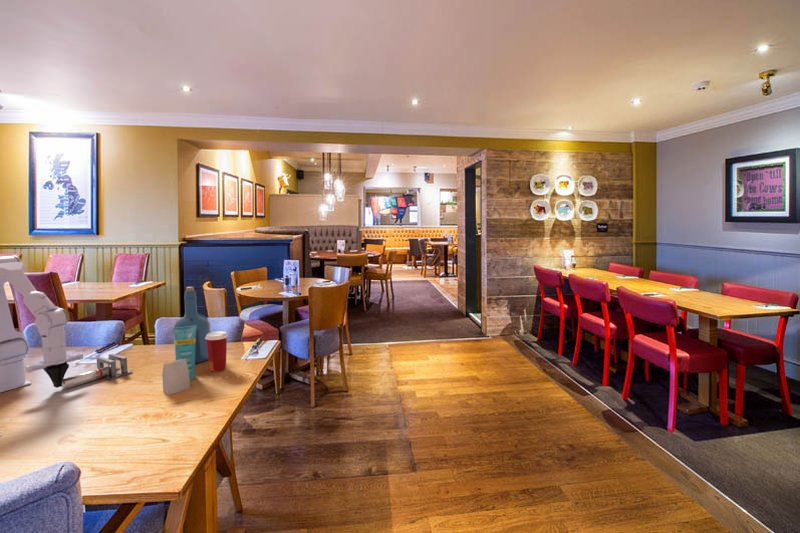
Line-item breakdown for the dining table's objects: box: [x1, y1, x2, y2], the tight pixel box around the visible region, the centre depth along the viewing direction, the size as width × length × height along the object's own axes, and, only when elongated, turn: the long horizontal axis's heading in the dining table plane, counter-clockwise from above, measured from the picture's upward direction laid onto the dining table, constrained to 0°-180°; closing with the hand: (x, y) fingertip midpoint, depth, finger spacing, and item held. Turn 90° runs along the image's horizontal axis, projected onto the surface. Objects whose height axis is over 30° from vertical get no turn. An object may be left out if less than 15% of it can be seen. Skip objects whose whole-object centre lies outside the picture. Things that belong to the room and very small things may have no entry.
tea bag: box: [161, 359, 191, 396], centre depth 129 cm, size 4×7×10 cm, turn 142°
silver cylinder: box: [61, 365, 109, 390], centre depth 136 cm, size 14×4×4 cm, turn 153°
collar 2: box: [108, 353, 133, 377], centre depth 145 cm, size 4×11×6 cm, turn 63°
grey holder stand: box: [95, 356, 122, 381], centre depth 141 cm, size 4×11×6 cm, turn 63°
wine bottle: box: [173, 286, 211, 364], centre depth 158 cm, size 14×13×30 cm
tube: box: [172, 325, 197, 381], centre depth 139 cm, size 7×5×19 cm, turn 123°
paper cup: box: [205, 330, 229, 373], centre depth 148 cm, size 8×8×14 cm
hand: (57, 386), depth 129 cm, fingers closed
